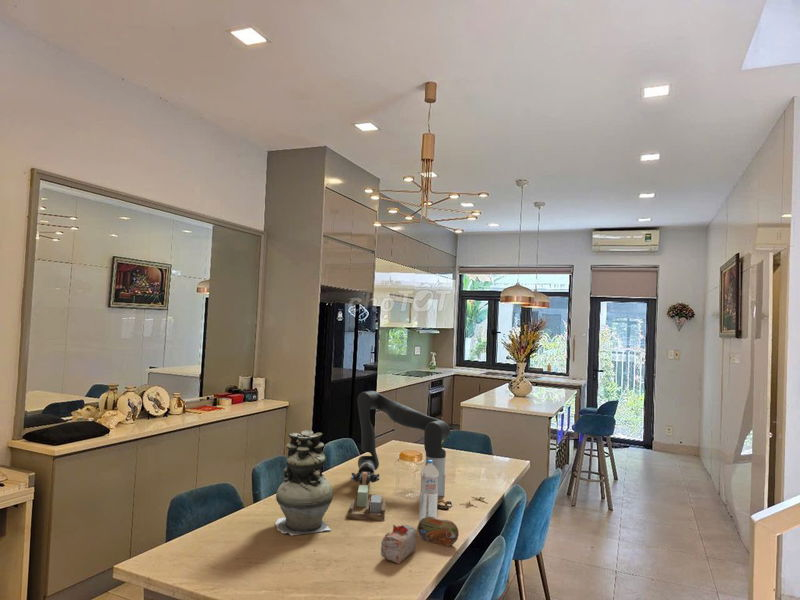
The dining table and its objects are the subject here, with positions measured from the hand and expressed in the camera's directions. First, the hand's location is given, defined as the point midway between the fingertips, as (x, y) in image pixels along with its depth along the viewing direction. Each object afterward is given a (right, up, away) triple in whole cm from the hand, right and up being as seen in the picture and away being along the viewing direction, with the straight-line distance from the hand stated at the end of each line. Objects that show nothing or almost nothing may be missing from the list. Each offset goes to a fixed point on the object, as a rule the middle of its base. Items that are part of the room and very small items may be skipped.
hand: (364, 482), depth 235 cm
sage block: (0, -6, -4) cm, 8 cm away
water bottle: (+26, -7, -30) cm, 41 cm away
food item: (+15, -5, -58) cm, 60 cm away
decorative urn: (-21, -4, -36) cm, 42 cm away
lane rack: (+3, -6, -20) cm, 21 cm away
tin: (+29, -6, -45) cm, 54 cm away
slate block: (+6, -6, -19) cm, 21 cm away
